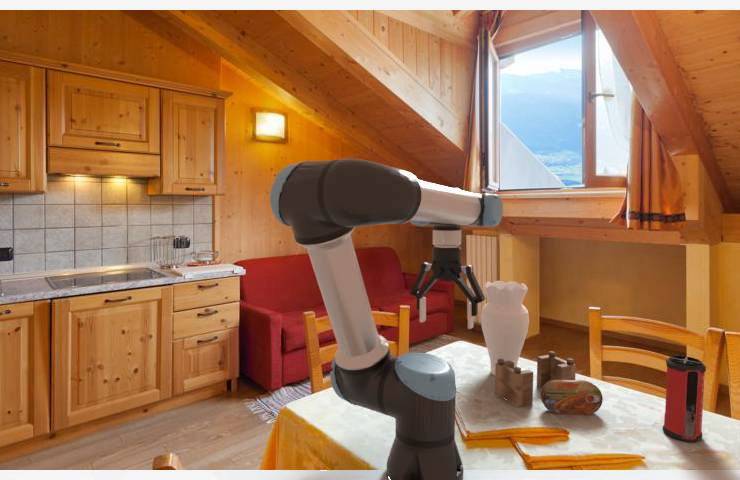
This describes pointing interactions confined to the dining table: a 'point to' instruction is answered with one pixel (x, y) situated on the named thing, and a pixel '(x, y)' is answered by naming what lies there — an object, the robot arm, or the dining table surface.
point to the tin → (571, 397)
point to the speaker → (684, 398)
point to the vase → (504, 321)
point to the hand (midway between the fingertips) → (446, 324)
